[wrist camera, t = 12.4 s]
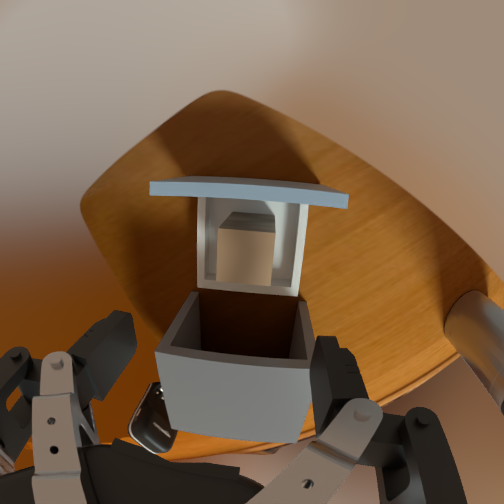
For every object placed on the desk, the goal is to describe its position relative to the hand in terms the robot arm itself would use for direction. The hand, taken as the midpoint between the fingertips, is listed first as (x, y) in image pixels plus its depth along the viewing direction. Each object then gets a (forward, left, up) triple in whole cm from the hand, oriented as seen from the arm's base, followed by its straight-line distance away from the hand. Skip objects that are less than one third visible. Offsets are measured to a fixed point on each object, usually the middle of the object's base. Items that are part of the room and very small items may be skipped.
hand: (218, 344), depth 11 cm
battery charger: (+12, +28, -20) cm, 37 cm away
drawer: (0, 0, -20) cm, 20 cm away
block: (0, 0, -19) cm, 19 cm away
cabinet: (0, +14, -20) cm, 24 cm away
